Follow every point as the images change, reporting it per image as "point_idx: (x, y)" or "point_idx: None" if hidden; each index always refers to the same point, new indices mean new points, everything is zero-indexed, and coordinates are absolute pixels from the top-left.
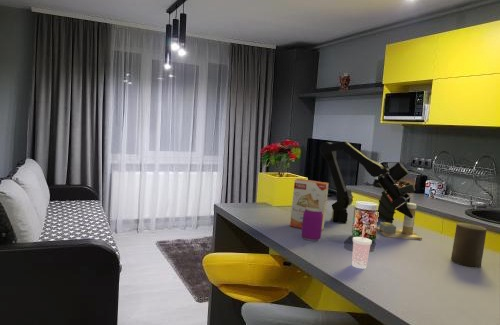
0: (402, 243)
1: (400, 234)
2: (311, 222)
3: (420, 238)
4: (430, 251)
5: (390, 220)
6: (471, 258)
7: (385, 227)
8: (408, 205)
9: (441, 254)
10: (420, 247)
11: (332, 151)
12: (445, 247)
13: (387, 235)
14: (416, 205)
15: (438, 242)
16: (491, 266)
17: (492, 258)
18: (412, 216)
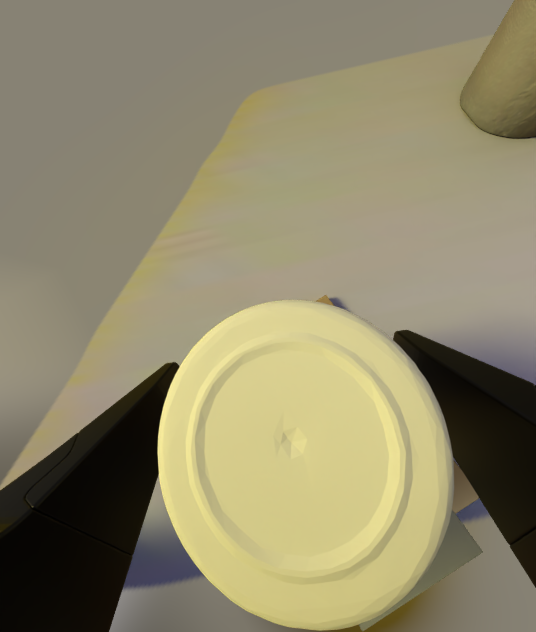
0: (505, 354)
1: None
2: None
3: (330, 301)
4: (500, 220)
5: None
6: None
7: (465, 533)
8: (433, 471)
9: (496, 179)
10: (478, 267)
11: None
12: (351, 199)
13: (460, 470)
14: (282, 301)
15: (291, 238)
16: (459, 51)
17: (343, 75)
18: (414, 335)
